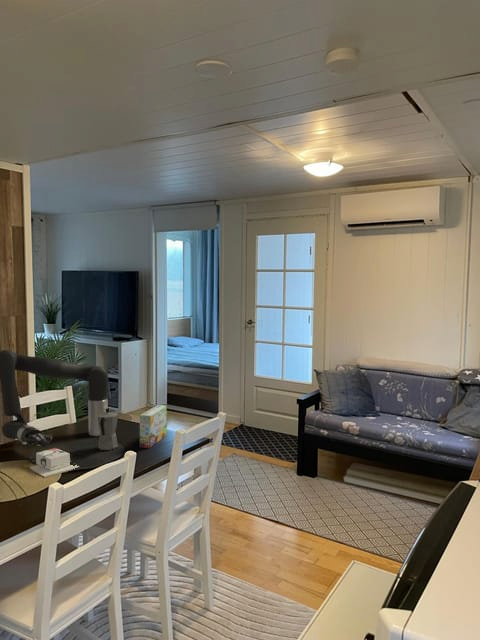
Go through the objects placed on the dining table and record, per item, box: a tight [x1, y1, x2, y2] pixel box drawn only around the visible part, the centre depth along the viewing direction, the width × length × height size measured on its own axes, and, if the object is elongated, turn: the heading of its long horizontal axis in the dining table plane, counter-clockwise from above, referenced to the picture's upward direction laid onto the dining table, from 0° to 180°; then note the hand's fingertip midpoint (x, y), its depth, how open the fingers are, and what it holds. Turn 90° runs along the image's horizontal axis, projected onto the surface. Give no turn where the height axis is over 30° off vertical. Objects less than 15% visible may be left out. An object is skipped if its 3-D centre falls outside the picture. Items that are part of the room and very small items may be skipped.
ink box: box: [35, 447, 71, 471], centre depth 187 cm, size 8×5×12 cm
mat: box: [29, 464, 80, 478], centre depth 186 cm, size 14×14×1 cm
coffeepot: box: [97, 408, 119, 449], centre depth 209 cm, size 15×9×18 cm, turn 179°
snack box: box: [139, 404, 168, 449], centre depth 220 cm, size 21×6×15 cm, turn 168°
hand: (46, 444), depth 190 cm, fingers closed
